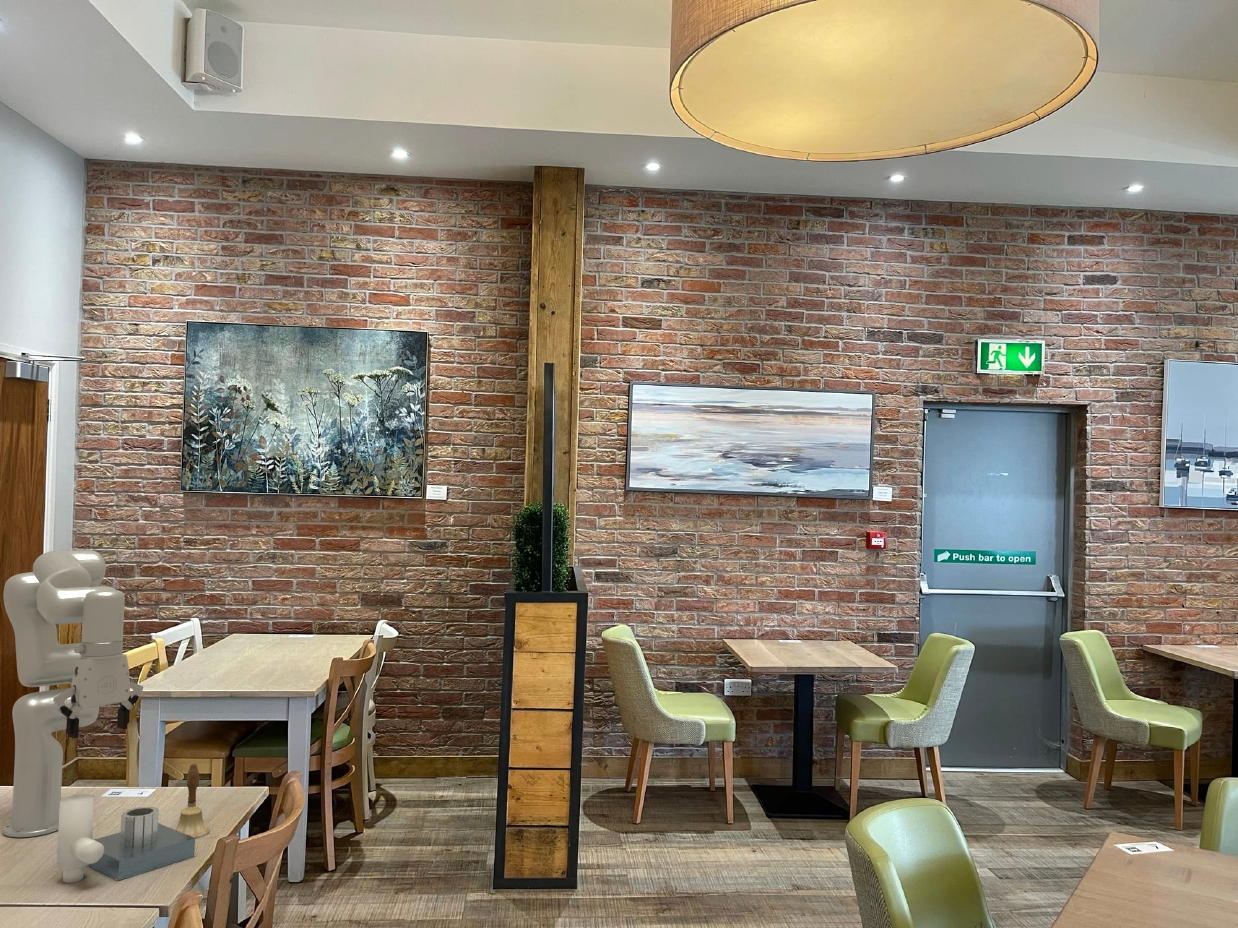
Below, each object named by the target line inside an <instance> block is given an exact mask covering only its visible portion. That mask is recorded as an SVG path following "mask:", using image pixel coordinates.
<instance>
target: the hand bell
mask: <svg viewBox="0 0 1238 928" xmlns="http://www.w3.org/2000/svg"><path fill="white" fill-rule="evenodd" d="M199 782H200V772H199V769H198V765H197V763H191V764H190V766H189V769H188V771H187V775H186V786H187V791H188V797H187V799H188V800H187V807H185V808H183V809H182V810H181V811H180V815H179V820H178V823H177V825H176V826H175V828H173V829H174V830H177V831H179V832H182V833H184V834H187V835H189V836H192V837H194V838H195V839H199V838H203V837H205V836H207V835H209V833H210V832H211V830H210V828H209V826H208V825H206V824H205V821H204V818H203V810H202V808H201V807H198V806H197V789H198V786H199Z"/></svg>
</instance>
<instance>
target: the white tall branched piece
mask: <svg viewBox="0 0 1238 928" xmlns="http://www.w3.org/2000/svg"><path fill="white" fill-rule="evenodd" d="M94 805H95V796H94V795H92V794H88V793H87V794H86V793H85V794H84V793H83V794H75V795H74V794H73V795H69V796H67V797H64V798H61V800H60V809H59V829H58V830H57V831H58V833H57V848H56V849H57V850H56V851H57V853H56V869H58V870H61V871H63V872H62V882H63V883H64V884H72V883H77V882H81V881H82V880H83V879H84V876H85V867H87V865H89V864H92V863H95V862H97V861H98V860H99V859H100V858H101V857H102V855H103V853H104V846H103V845H102V844H101V843H99V842H97V841H95V840H94V839H93V830H94V827H93V826H94V810H95V808H94V807H95V806H94ZM81 879H82V880H81Z"/></svg>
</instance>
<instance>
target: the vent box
mask: <svg viewBox="0 0 1238 928" xmlns="http://www.w3.org/2000/svg"><path fill="white" fill-rule="evenodd" d="M120 818H121V819H120V832H116V833H112V834H109V835H106V836H102V837H98V838H94V839H93V840H95V841H97V842H99V843H101V844H102V845H103V846H104V853H103V855H102V857H101V858H100V859H99V860H98V861H97V862H95V863H92V864H89V865H88V867H89V866H90V868H91V869H93V868H94V870H95V871H97V870H98V872H99V871H100V872H99V873H101V872H102V873H101V874H103V873H104V875H105V876H107V877H109V876H110V877H109V878H112V879H113V878H114V880H115V879H117V880H118V882H119V880H120V881H123V880H125V878H126V879H129V878H132V877H134V876H135V877H136V876H138V875H142V874H145V873H148V872H151V871H154V870H157V869H160V868H163V867H167V866H169V865H173V864H177V863H178V862H182V861H185V860H188V859H191V858H195V850H196V849H195V848H196V847H195V846H196V838H194V837H192V836H189V835H187V834H184V833H182V832H179V831H177V830H174V829H175V828H172V827H169V826H167V825H165V824H162V823H160V822H159V807H156V806H138V807H134V808H133V807H132V808H129V809H126V810H125V811H122V812H121V817H120ZM131 876H132V877H131ZM122 879H123V880H122ZM117 880H116V881H117Z"/></svg>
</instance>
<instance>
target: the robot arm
mask: <svg viewBox="0 0 1238 928" xmlns="http://www.w3.org/2000/svg"><path fill="white" fill-rule="evenodd" d="M106 567H107V566H106V562H105V559H104V556H103V555H101V553H99V552H98V551H95V550H92V549H82V550H81V549H80V550H79V549H77V550H75V549H74V550H72V549H71V550H51V551H48V552H47V551H46V552H44V553H42V554H41V555H40V556H38V557H37V558H36V559H35V561H34V562H33V565H32V571H30V572H29V571H28V572H23V573H17V574H15V575H13V576H11V577H9V578H8V579H7V580H6V581H5V584H4V587H3V604H4V608H5V612H6V614H7V616H8V619H9V621H10V623H11V625H12V628H13V632H14V639H15V642H14V643H15V654H16V669H17V677H18V681H19V683H21V685H22V686H24V687H27V688H37V687H38V688H41V687H49V686H56V685H58V686H59V685H65V684H66V685H67V684H69V685H70V686H71V687H69V688H62V689H50V690H42V691H36V692H30V693H28V694H25V695H22V696H21V697H19V698H18V699H17V700H16V701H15V702H14V704H13V707H12V721H13V722H12V723H13V731H14V742H15V743H14V768H13V769H14V770H13V773H14V774H13V788H12V789H13V790H12V791H13V792H12V808H11V821H10V822H8V823H7V824H5V825H4V826H3V828H2V833H3V835H4V836H6V837H10V838H30V837H38V836H44V835H47V834H51V833H54V832H57V831H58V829H59V809H60V800H61V799H62V785H63V784H62V783H63V781H62V780H63V766H64V765H63V763H64V762H63V761H64V758H63V757H64V751H63V746H62V744H61V743H60V742H59V741H58V740H57V739H56V738H55V737H54V736H53V734H52V733H53V732H59V731H64V730H65V733H66V734H67V736H68V737H69V738H72V739H78V738H79V735H80V734H79V732H80V731H79V729H80V728H83V727H87V726H90V725H92V724H93V723H94V722H96V720H97V719H98V717H99V713H100V707H105V706H111V705H115V704H116V705H117V704H118V706H120V707H119V708H118V709H117V714H116V715H117V716H116V717H117V720H116V728H118V729H121V730H127V729H128V726H129V725H128V724H130V714H131V710H132V709H133V706H134V705H135V704H136V703H137V701H139V698H140V696H141V694H142V692H143V690H144V686H143V685H141V684H138V683H136V682H133V681H131V679H130V669H129V668H130V667H129V663H128V662H129V661H128V655H127V654H125V653H123V646H124V644H123V643H124V622H125V621H124V620H125V602H126V601H125V599H126V597H125V595H124V593H123V591H121V590H118V589H116V588H114V587H112V586H100V585H101V584H102V582H103V580H104V578H105V576H106V569H107V568H106ZM81 623H82V627H81V642H80V643H79V642H77V643H65V644H64V643H63V644H61V643H59V640H58V629H57V625H68V624H81ZM131 690H132V693H131Z"/></svg>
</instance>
